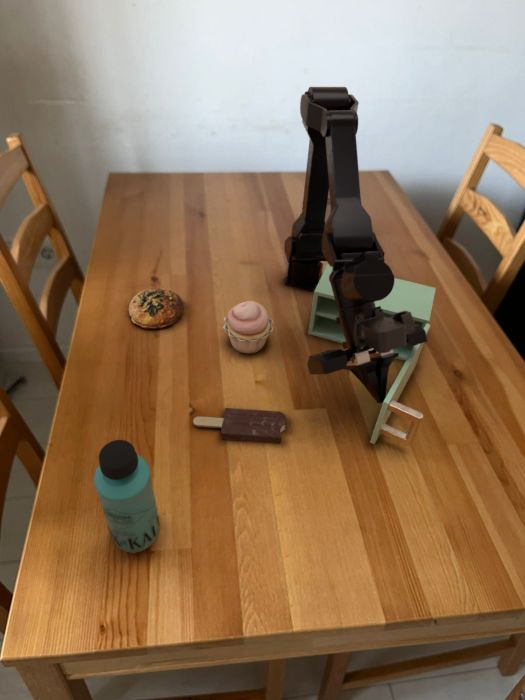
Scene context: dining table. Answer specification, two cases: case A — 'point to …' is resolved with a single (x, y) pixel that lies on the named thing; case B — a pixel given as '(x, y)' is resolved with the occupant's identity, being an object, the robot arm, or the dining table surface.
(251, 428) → the ice cream bar
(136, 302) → the bread roll
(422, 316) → the fridge
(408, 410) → the fridge door
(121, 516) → the beverage bottle
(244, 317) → the cupcake
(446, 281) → the dining table surface
